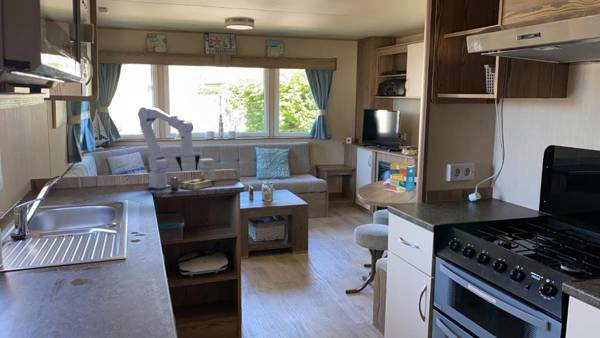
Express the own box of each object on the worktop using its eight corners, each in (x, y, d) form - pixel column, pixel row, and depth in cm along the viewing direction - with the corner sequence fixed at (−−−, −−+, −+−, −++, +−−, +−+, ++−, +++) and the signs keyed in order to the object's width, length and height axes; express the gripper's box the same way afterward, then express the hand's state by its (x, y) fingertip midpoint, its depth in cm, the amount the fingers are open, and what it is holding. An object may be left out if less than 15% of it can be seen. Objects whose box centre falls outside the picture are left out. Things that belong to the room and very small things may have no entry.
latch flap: (197, 175, 264) (197, 174, 264) (201, 179, 266) (201, 178, 267) (201, 176, 262) (202, 175, 262) (205, 179, 265) (205, 178, 265)
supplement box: (199, 179, 282) (198, 158, 280) (211, 178, 285) (210, 157, 283) (203, 181, 275) (202, 160, 273) (215, 180, 279) (214, 159, 277)
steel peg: (169, 190, 251) (168, 177, 250) (174, 189, 254) (174, 176, 253) (174, 191, 249) (173, 178, 248) (179, 190, 252) (178, 177, 251)
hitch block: (181, 187, 259) (181, 182, 258) (198, 183, 270) (198, 178, 269) (195, 189, 253) (194, 184, 253) (211, 185, 264) (211, 180, 264)
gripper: (172, 146, 244) (174, 172, 246) (201, 144, 247) (203, 170, 249) (172, 145, 251) (175, 170, 253) (200, 143, 254) (202, 168, 256)
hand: (189, 170), depth 251 cm, fingers open, 7 cm apart
